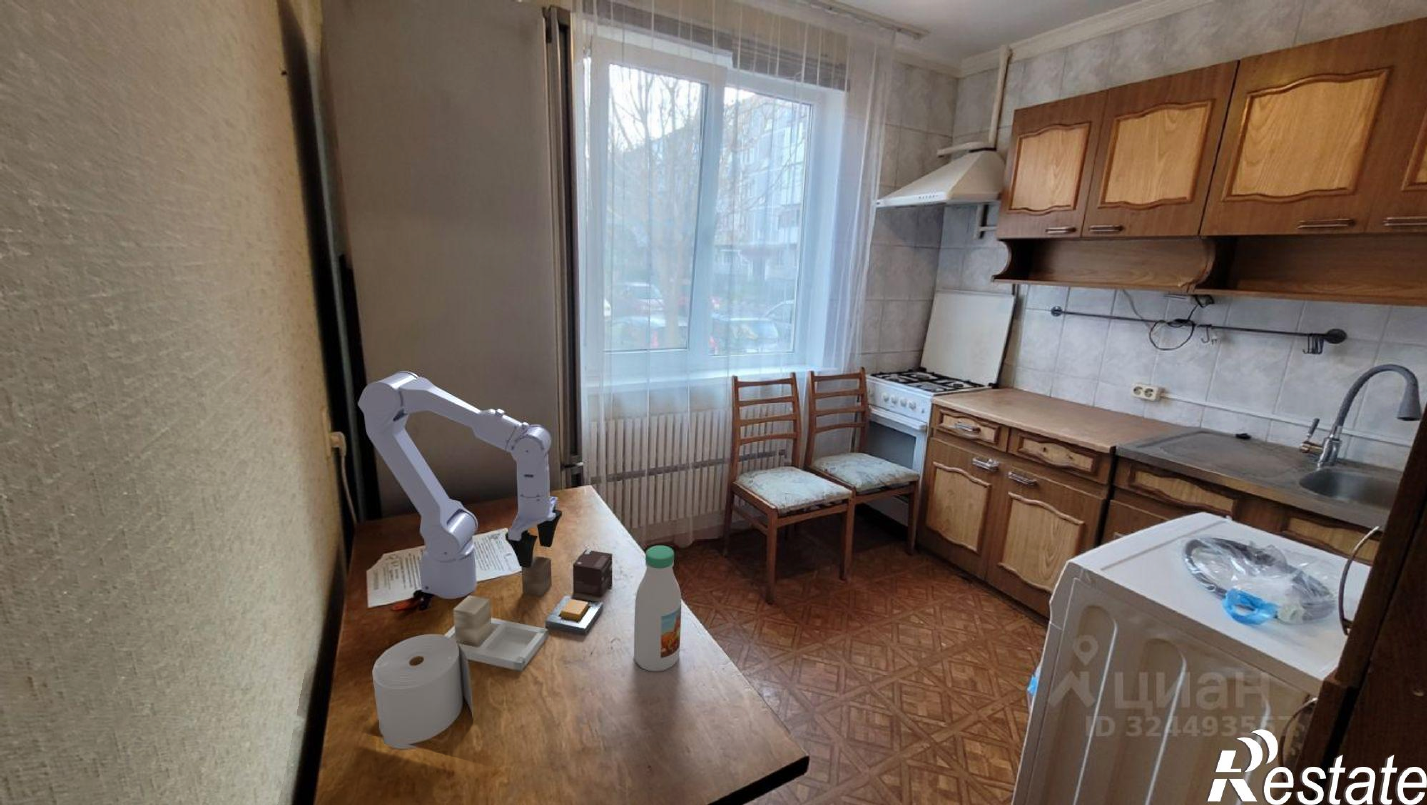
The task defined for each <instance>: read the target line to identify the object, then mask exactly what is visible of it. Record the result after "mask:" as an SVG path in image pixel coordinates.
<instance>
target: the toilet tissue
mask: <svg viewBox="0 0 1427 805" xmlns="http://www.w3.org/2000/svg"><path fill="white" fill-rule="evenodd" d="M444 635H445V634H444ZM444 635H443V634H437V633H434V634H433V633H432V634H431V633H430V634H423V635H422V634H421V635H417V636H412V637H410V638H407V639H404V640H402V641H400V642H398V643H395V644H394V645H393V646H391V647H390V648H387V649H386V650H384V652H383V653H382V654H381V655H380V656H379V657H378V658H377V659H376V660H375V663H374V666H373V668H372V671H371V673H372V681H373V682H372V684H373V687H374V696H375V697H374V698H375V702H376V712H377V714H376V715H377V719H378V729H379V732H380V734H381V736H382V737H381V739H382V740H383V743H384V744H385V745H387V746H389V747H391V748H393V749H399V750H400V749H401V750H408V749H415V748H418V746H417V745H416V746H415V745H413V744H416V743H420V742H423V741H424V742H425V741H428V740H430V739H432V738H433V737H435V736H437V735H439V734H441V733H443V732H444V731H445V730H446V729H448V728H449V727H450V726H451V725H452V724H453V723H454V722H455V720H457V718H458V717H459V715H461V712H462V708H463V704H464V699H465V701H466V703H467V704H468V707H469V709H470V712H471V714H472V717H474V711H473V710H474V709H473V699H472V695H473V694H472V687H471V674H470V665H469V659H467V657H466V656H465V652H464V651H463V650H462V648H461V647H460V646H459V645H458V644H457V643H456V642H455V641H454V640H453V639H451V638H449V637H448V636H444ZM463 697H464V698H463Z"/></svg>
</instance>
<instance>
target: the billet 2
mask: <svg viewBox="0 0 1427 805" xmlns="http://www.w3.org/2000/svg"><path fill="white" fill-rule="evenodd" d="M520 569H521V588H522V589H521V590H522V594H523V595H529V596H532V597H533V596H534V597H539V598H542V597H543V596H544V595H545V594H546V593H547V591H548V590H549V589H550V588H551V587H552V559H551V558H548V557H543V556H538V555H533V560H532V565H531V567H530V568H526V567H521V568H520Z"/></svg>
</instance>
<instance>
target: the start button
mask: <svg viewBox="0 0 1427 805" xmlns="http://www.w3.org/2000/svg"><path fill="white" fill-rule="evenodd" d="M587 611H588V602H584V601H578V600H573V599H570V600H569V601H568V602H567V604H566V605H565V606H564V608H563V609H562V610H561V617H563V618H568V619H573V620H578V621H581V620H582V618H583V617H584V616H585V614H586V613H587Z"/></svg>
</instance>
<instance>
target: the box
mask: <svg viewBox="0 0 1427 805" xmlns="http://www.w3.org/2000/svg"><path fill="white" fill-rule="evenodd" d="M572 582H573V583H572V588H573V590H572V591H573V594H575V595H576V594H577V595H582V596H588V597H593V598H602V597H603V595H604V594H605V593H606V592H607V590H610V589H611V588H612V586H613V553H610V552H603V551H597V550H590V549H585V550H584V551H583V552H582V553H581V555H579V556H578V558H577V559H576V560H575V561H574V563H573V564H572Z"/></svg>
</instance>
